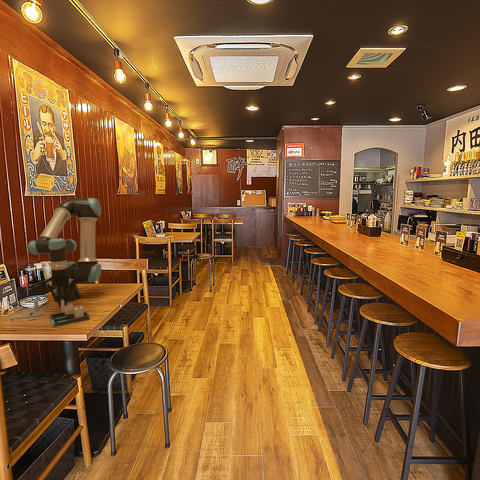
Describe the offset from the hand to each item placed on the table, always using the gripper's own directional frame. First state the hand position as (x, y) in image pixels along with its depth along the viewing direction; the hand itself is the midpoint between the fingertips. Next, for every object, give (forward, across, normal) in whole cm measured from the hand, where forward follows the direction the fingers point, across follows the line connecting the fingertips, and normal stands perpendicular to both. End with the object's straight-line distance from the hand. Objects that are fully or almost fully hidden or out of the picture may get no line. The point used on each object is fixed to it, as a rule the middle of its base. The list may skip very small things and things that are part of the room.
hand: (63, 311), depth 162 cm
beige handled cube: (+3, +6, -8) cm, 11 cm away
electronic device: (+5, -16, +12) cm, 20 cm away
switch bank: (+4, +2, -4) cm, 6 cm away
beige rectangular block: (+3, +3, 0) cm, 4 cm away
